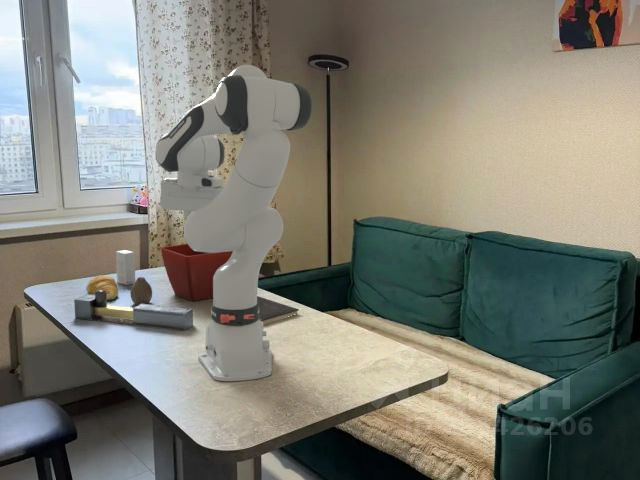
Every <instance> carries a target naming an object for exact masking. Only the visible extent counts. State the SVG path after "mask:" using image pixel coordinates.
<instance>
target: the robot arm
mask: <svg viewBox="0 0 640 480" xmlns="http://www.w3.org/2000/svg"><path fill="white" fill-rule="evenodd" d="M312 111H313V100H312V96H311V94H310V93H309V91H308V89H307V88H306V87H304V86H303V85H300V84H298V83H295V82H286V81H282V80H278V79H273V78H269V77H267V75H266V74H265V72H264V71H263V70H262V69H260V68H259V67H257V66H255V65H252V64H241V65H240V66H237V67H236V68H235V69H233V70H232V71H231V72H230V73H229V74H228V75H227V76H224V77H223V78H221V80H220V81H219V82H218V83H217V86H216V88H215V92H214V93H213V94H212V95H210V97H208V98H207V99H205V101H202V102H201V103H200V104H197V105H194V107H192V108H191V109H189V110H188V111H187V112H186V113H185V114H184V115H183V116H182V118H180V119H179V121H178V122H177V123H176V124H175V125H174V126H173V128H171V130H169V132H168V133H164V134H163V135H162V136H161V137H160V138H159V140H158V141H157V142H156V147H155V160H156V162H157V164H158V165H159V166H160V167H161V168H162V169H163V170H164V171H166V172H168V173H172V172H173V173H174V172H177V173H176V174H177V175H176V177H177V178H175V177H174V178H169V177H166V178H164V179H162V180H161V181H160V190H161V191H160V198H159V205H160V208H161V209H162V210H172V211H183V215H184V217H185V219H186V220H185V221H184V225H183V237H184V240H185V242H186V244H188V245H189V246H190V248H191V249H193V250H194V251H197V252H206V253H219V252H228V251H233V252H232V255H231V257H230V259H229V260H228V261H227V262H226V263H225V264H224V265H222V266H221V267H219V268H218V269H217V271H216V272H215V274H214V277H213V297H212V298H213V299H212V301H213V302H212V304H211V308H210V312H211V321H210V322H209V323H208V324H207V325H206V326H205V346H204V347H205V351H202V352H200V353H199V354H198V358H197V359H198V361H199V362H200V363H201V365H202V366H203V367H204V368H205V370H206V371H207V373H208V375H210V377H211V378H212V379H213V380H215V381H220V382H221V381H223V382H238V381H239V382H240V381H250V380H256V379H257V380H258V379H262V378H265V377H268V376H271V375H272V373H273V372H272V371H273V370H272V369H273V368H272V367H273V366H272V364H273V363H272V362H273V361H272V357H273V356H272V354H273V353H272V349H271V348H270V340H268V339H265V340H264V337H267V330H264V325H263V322H262V321H260V320H259V304H258V302H257V296H258V288H259V287H258V284H259V275H260V270H261V267H262V264H263V263H264V260H265V258H266V256H267V255H268V253H269V251H271V249H272V248H273V247H274V246H275V245H276V244H277V243H278V242H279V241H280V240H281V238H282V235H283V233H284V221H283V218H282V216H281V214H280V213H279V211H278V210H277V209H276V208H275V207H270V205H271V203H272V202H273V199H274V197H275V195H276V193H277V190H278V188H279V186H280V184H281V182H282V179H283V177H284V175H285V172H286V169H287V165H288V161H289V157H290V152H291V141H290V140H289V137H288V135H286V133H285V132H283V131H282V130H285V131H297V130H300V129H303V128H305V126H306V125H307V124H308V122H309V120H310V119H311V116H312ZM241 133H242V139H243V140H242V141H243V142H242V145H241V148H240V151H239V153H238V155H237V158H236V160H235V163H234V166H233V168H232V170H231V174H230V175H229V177H228V180H227V182H226V184H225V179H224V178H221V177H220V176H216V175H214V174H211V173H210V172H209V171H213V170H217V169H218V168H220V167H221V165H222V164H223V163H224V161H225V145H224V144H223V142H222V141H221V140H220V138H218V137H217V136H216V135H226V134H227V135H228V134H229V135H230V134H233V135H236V136H237V135H240V134H241ZM214 135H215V136H214ZM224 185H225V186H224Z"/></svg>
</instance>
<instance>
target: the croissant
mask: <svg viewBox="0 0 640 480" xmlns="http://www.w3.org/2000/svg"><path fill="white" fill-rule="evenodd" d="M85 287H86V288H85V289H86V292H87V294H90V295H95V291H96V290H106V299H107V300H108V301H110V300H114V299H115V298H116V297H117V295H118V294H119V286H118V285H117V281H115V279H114V277H111V276H109V275H105V274H100V275H97V276H95V277H93V278H92V279H90V280H89V282H88V283H87V285H86V286H85Z"/></svg>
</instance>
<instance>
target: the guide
mask: <svg viewBox="0 0 640 480" xmlns="http://www.w3.org/2000/svg"><path fill="white" fill-rule="evenodd" d="M73 300H74V301H73V302H74V318H75V319H76V320H77V319H78V320H84V321H85V320H87V321H93V320H94V321H95V322H101V323H102V322H104V323H111V324H112V323H113V324H121V325H131V326H137V327H138V326H139V327H145V328H146V327H148V328H154V329H155V328H156V329H164V330H171V331H172V330H173V331H180V332H184V331H187V330H188V329H190V328H191V327H193V325H194V309H193V308H188V307H187V308H185V307H178V306H168V305H167V306H166V305H160V304H159V305H158V304H149V303H148V304H140V305H136V306H135V307H132V308H133V319H125V318H116V317H107V316H98V315H93V304H95V295H90V294H89V293H87V294H83V295H81V296H79V297H77V298H74V299H73ZM94 321H93V322H94Z"/></svg>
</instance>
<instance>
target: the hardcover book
mask: <svg viewBox="0 0 640 480" xmlns="http://www.w3.org/2000/svg"><path fill="white" fill-rule="evenodd" d="M257 302H258V304H259V320H260V321H262V322H263V326H265V325H268V324H271V323H274V322H277V321H276V320H278V321H280V320H279V319H281V320H283V319H282V318H284V319H286V318H285V317H288V316H291V315H294V314H297V315H298V311H299V310H300V309H299V308H296V307H293V306H289V305H286V304H284V303H281V302H278V301H274V300H271V299H267V298H265V297H261V296H258V295H257ZM294 316H295V315H294ZM291 317H292V316H291ZM288 318H289V317H288ZM273 321H274V322H273ZM270 322H271V323H270ZM267 323H268V324H267Z"/></svg>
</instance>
